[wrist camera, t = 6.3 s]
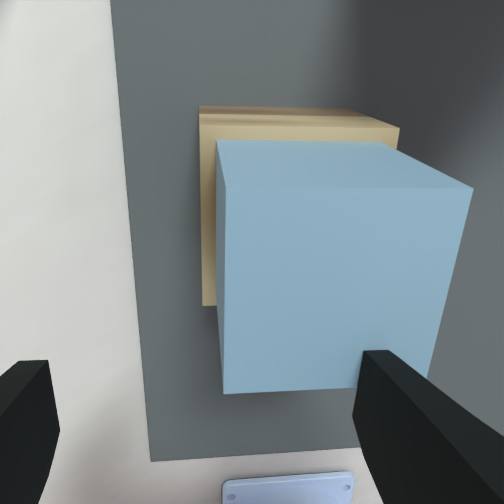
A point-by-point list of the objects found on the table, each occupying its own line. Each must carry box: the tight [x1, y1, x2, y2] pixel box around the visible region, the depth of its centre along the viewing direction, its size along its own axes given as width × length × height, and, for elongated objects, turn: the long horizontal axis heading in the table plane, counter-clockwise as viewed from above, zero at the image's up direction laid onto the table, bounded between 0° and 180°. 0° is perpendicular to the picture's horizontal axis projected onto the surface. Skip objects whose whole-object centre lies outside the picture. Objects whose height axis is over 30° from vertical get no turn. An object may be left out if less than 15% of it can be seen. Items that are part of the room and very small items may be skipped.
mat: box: [110, 0, 504, 462], centre depth 21 cm, size 24×22×1 cm
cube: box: [216, 139, 473, 394], centre depth 12 cm, size 5×5×5 cm
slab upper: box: [199, 114, 400, 306], centre depth 15 cm, size 6×6×2 cm
